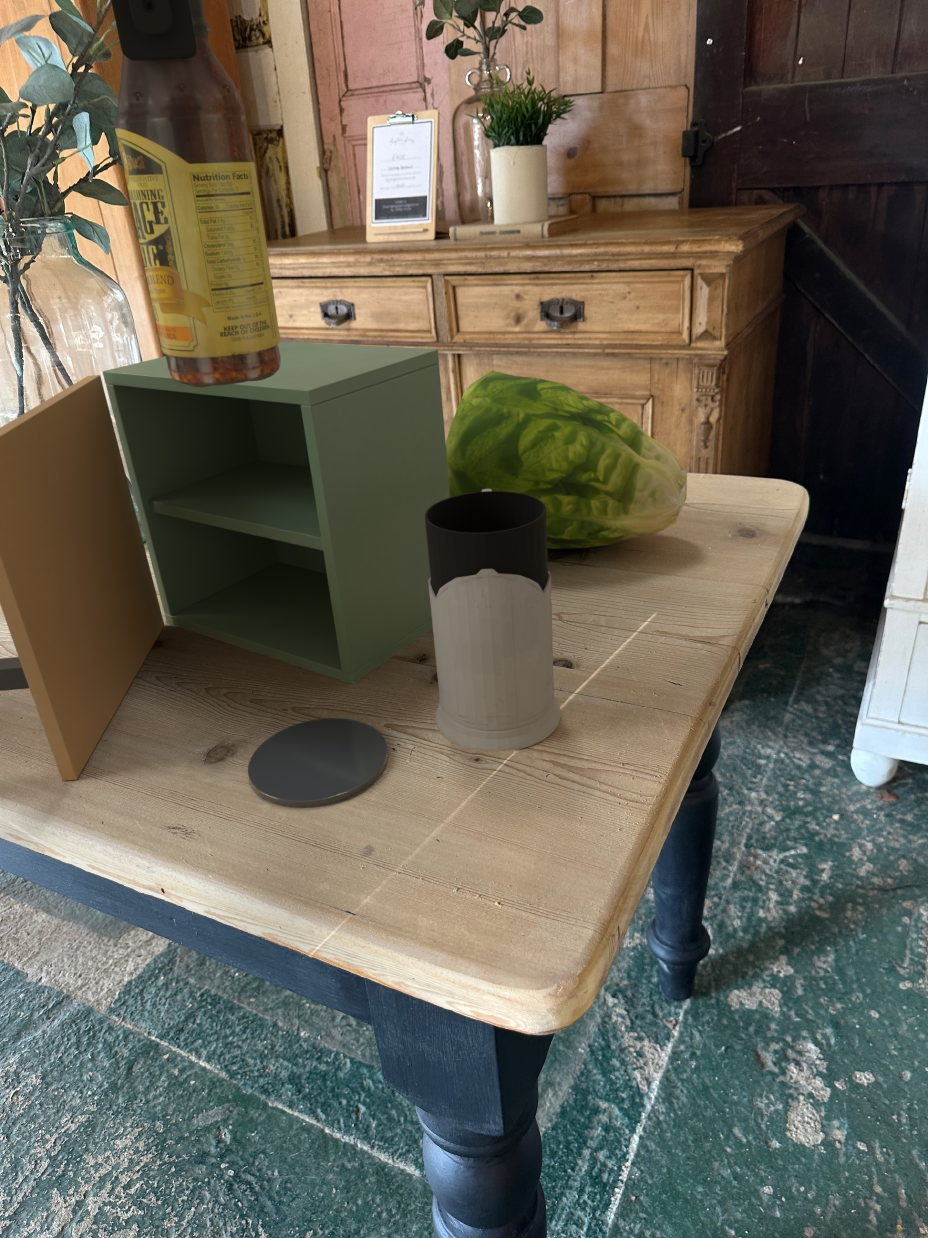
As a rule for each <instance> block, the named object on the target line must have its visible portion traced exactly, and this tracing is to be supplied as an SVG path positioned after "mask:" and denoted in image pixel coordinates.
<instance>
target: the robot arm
mask: <svg viewBox="0 0 928 1238" xmlns="http://www.w3.org/2000/svg"><path fill="white" fill-rule="evenodd" d="M110 2H111V7H112V11H113V17H114V21H115V26H116V30H117V35H118V40H119V44H120V49H121V51H122V55H123V54H124V55H125V56H126V57H127V58H128V59H129V60H132V61H142V60H159V59H169V58H192V57H194V56H195V55H196V53H197V42H196V36H195V30H194V25H193V19H192V13H191V8H190V2H189V0H110Z"/></svg>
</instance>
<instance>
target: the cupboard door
mask: <svg viewBox="0 0 928 1238" xmlns="http://www.w3.org/2000/svg"><path fill="white" fill-rule="evenodd" d="M153 579H154V578H153V574H152V571H151V567H150V563H149V560H148V556H147V551H146V547H145V544H144V540H143V536H142V532H141V527H140V524H139V520H138V516H137V512H136V508H135V504H134V501H133V497H132V492H131V490H130V486H129V482H128V478H127V474H126V470H125V466H124V461H123V458H122V455H121V450H120V447H119V443H118V438H117V435H116V432H115V426H114V424H113V419H112V416H111V412H110V408H109V403H108V400H107V396H106V392H105V389H104V383H103V380H102V376H101V375H100V374H96V375H95V374H93V375H87V376H85V377H83V378H82V379H80V380H78V381H77V382H75V383H73V384H72V385H70V386H68V387H66V388H65V389H63V390H61V391H60V392H58V393H56V394H55V395H53V396H51V397H50V398H48V399H46V400H44V401H43V402H41V403H40V404H38V405H36V406H35V407H32V408H31V409H29V410H28V411H26V412H24V413H22V414H20V415H19V416H17V417H16V418H14V419H12V420H11V421H9V422H8V423H6V424H4V425H3V426H0V608H1V611H2V614H3V616H4V620H5V623H6V625H7V628H8V632H9V634H10V637H11V639H12V642H13V645H14V648H15V651H16V654H17V656H14V657H1V658H0V692H4V691H16V690H26V689H29V691H30V694H31V695H32V699H33V702H34V705H35V707H36V708H35V709H36V711H37V714H38V716H39V719H40V722H41V725H42V728H43V730H44V733H45V734H44V735H45V736H46V739H47V742H48V745H49V749H50V751H51V753H52V754H51V755H52V756H53V759H54V762H55V765H56V768H57V771H58V773H59V776H60V779H61V781H62V782H64V781H76V780H78V778H79V776H80V775H81V773H82V771H83V770H84V768H85V766H86V764H87V763H88V761H89V760H90V757H91V755H92V754H93V752H94V750H95V749H96V747H97V745H98V744H99V742H100V740H101V739H102V736H103V734H104V733H105V731H106V729H107V728H108V726H109V724H110V722H111V721H112V719H113V717H114V715H115V714H116V712H117V710H118V708H119V706H121V705H120V704H121V703H122V702H123V699H124V697H125V696H126V694H127V692H128V691H129V689H130V687H131V686H132V684H133V682H134V680H135V678H136V677H137V675H138V673H139V671H140V669H141V667H142V666H143V664H144V662H145V661H146V659H147V657H148V655H149V653H150V652H151V650H152V649H153V646H154V645H155V643H156V642H157V640H158V638H159V636H160V634H161V632H162V631H163V629H164V627H165V622H164V621H165V620H164V618H163V614H162V610H161V606H160V601H159V598H158V595H157V591H156V587H155V583H154V580H153Z"/></svg>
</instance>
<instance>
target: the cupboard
mask: <svg viewBox="0 0 928 1238" xmlns="http://www.w3.org/2000/svg"><path fill="white" fill-rule="evenodd" d="M278 348H279V352H280V357H281V362H280V367H279V370H278V371H277V372H276V373H275V374H274V375H273V376H271V377H268V378H266V379H263V380H259V381H246V382H243V383H235V384H228V385H214V386H207V387H193V386H189V385H186V384H182V383H178V382H175V381H174V380H173V379H172V377H171V375H170V371H169V369H168V364H167V360H166V356H165V355H164V356H161V357H157V358H152V359H148V360H144V361H140V362H136V363H131V364H128V365H123V366H119V367H113V368H110V369H106V370H103V371H102V376H103V380H104V384H105V388H106V391H107V394H108V399H109V402H110V403H109V404H110V408H111V411H112V414H113V415H112V416H113V418H114V422H115V426H116V431H117V434H118V437H119V441H120V446H121V450H122V453H123V459H124V462H125V465H126V469H127V473H128V477H129V480H130V485H131V489H132V493H133V496H134V500H135V505H136V508H137V512H138V517H139V520H140V524H141V528H142V533H143V536H144V540H145V543H146V547H147V551H148V555H149V559H150V564H151V567H152V571H153V575H154V578H155V582H156V587H157V591H158V594H159V598H160V603H161V606H162V610H163V613H164V618H165V621H166V623H167V624H169V625H171V626H175V627H178V628H181V629H183V630H186V631H189V632H193V633H196V634H198V635H202V636H205V637H207V638H211V639H214V640H217V641H220V642H223V643H225V644H229V645H232V646H234V647H238V648H240V649H244V650H248V651H250V652H252V653H253V652H254V653H257V654H259V655H262V656H266V657H268V658H271V659H274V660H278V661H280V662H283V663H286V664H290V665H293V666H296V667H298V668H302V669H305V670H308V671H311V672H313V673H317V674H320V675H323V676H326V677H328V678H332V679H335V680H338V681H341V682H344V683H346V684H350V685H354V684H356V683H357V682H359V681H360V680H361V679H363V678H364V677H366V676H368V675H369V674H370V673H372V672H373V671H374V670H376V669H378V668H379V667H381V665H383V664H385V663H386V662H387V661H389V660H390V659H391V658H393V657H394V656H396V655H397V654H398V653H400V652H401V651H403V650H404V649H406V648H407V647H408V646H410V645H412V644H413V643H414V642H416V641H417V640H418V639H420V638H421V637H423V636H424V635H425V634H427V633H428V632H430V631H431V630H433V625H432V614H431V604H430V594H429V583H428V579H429V578H431V575H430V565H429V554H428V544H427V533H426V523H425V513H426V511H427V510H428V509H429V507H431V506H432V505H434V504H435V503H437V502H439V501H441V500H444V499H447V498H450V493H449V481H448V468H447V456H446V432H445V431H446V430H445V421H444V420H445V418H444V408H443V395H442V383H441V382H442V381H441V370H440V356H439V350H438V348H436V349H435V348H417V347H401V346H400V347H397V346H382V345H381V346H378V345H360V344H359V345H358V344H344V343H343V344H342V343H323V342H322V343H321V342H302V341H286V340H285V341H282V340H280V343H279V344H278Z"/></svg>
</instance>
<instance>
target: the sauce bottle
mask: <svg viewBox="0 0 928 1238" xmlns="http://www.w3.org/2000/svg"><path fill="white" fill-rule="evenodd" d="M189 2H190V8H191V13H192V19H193V25H194V30H195V36H196V42H197V53H196V55H195V56H194V57H192V58H169V59H159V60H142V61H132V60H129V59H128V58H127V57H126V56H125V55H124V54H123V53H122V57H121V58H122V59H121V71H120V83H119V90H118V98H117V99H118V100H117V107H116V117H115V124H114V131H115V134H116V135H115V136H116V140H117V144H118V149H119V156H120V159H121V164H122V168H123V173H124V176H125V182H126V187H127V191H128V195H129V202H130V207H131V212H132V217H133V222H134V226H135V230H136V236H137V238H138V245H139V250H140V254H141V261H142V263H143V268H144V272H145V276H146V282H147V287H148V291H149V296H150V300H151V305H152V310H153V314H154V319H155V323H156V328H157V333H158V338H159V341H160V347H161V352H162V353H163V354H164V357H165V356H166V360H167V364H168V369H169V371H170V375H171V377H172V379H173V380H174V381H175V382H178V383H182V384H186V385H189V386H193V387H207V386H214V385H228V384H235V383H243V382H246V381H259V380H263V379H266V378H268V377H271V376H273V375H274V374H275V373H276V372H277V371H278V370H279V367H280V362H281V357H280V352H279V348H278V344H279V343H280V341H281V335H280V328H279V322H278V315H277V308H276V301H275V293H274V287H273V286H274V285H273V279H272V273H271V265H270V259H269V252H268V246H267V238H266V232H265V231H266V230H265V226H264V219H263V212H262V205H261V199H260V191H259V184H258V178H257V177H258V176H257V171H256V163H255V161H254V160H253V159H252V154H251V146H250V145H251V144H250V142H249V135H248V126H247V121H246V120H247V119H246V117H247V115H246V111H245V106H244V102H243V99H242V96H241V94H240V91H239V89H238V88H237V86H236V85H235V81H234V80H233V78H231V76H230V73H229V72H228V71H227V70H226V69H225V67H224V65H223V63H221V61H220V60H219V58H218V56H217V55H216V54H215V52H214V51H213V49H212V47H211V45H210V43H209V41H208V39H209V35H210V34H209V33H210V26H209V23H208V21H206V17H205V16H206V15H205V9H204V3H203V0H189Z"/></svg>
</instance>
